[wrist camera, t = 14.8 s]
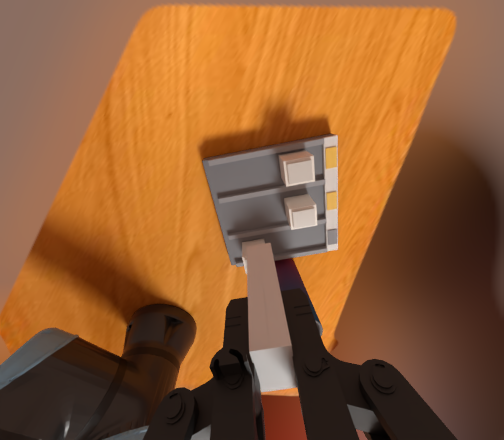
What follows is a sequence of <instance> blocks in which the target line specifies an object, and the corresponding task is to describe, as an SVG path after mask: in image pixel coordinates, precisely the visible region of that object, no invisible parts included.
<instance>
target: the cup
mask: <svg viewBox="0 0 504 440" xmlns="http://www.w3.org/2000/svg"><path fill="white" fill-rule="evenodd" d="M274 262H275V267H276V272H277V277H278V282H279V287H280V291H285V290H291V289H297V288H300V289H301V290H302V291H303V292H304V293H305V294H306V295H307V298H308V301H309V304H310V307H311V310H312V313H313V316H314V319H315V321H316V324H317V327H318V330H319V333H320V336H321V335H322V332H323V328H322V326H321V323H320V321H319V319H318V316H317V314H316V312H315V309H314V307H313V305H312V302H311V300H310V298H309V295H308V293H307V291H306V288H305V286H304V284H303V281H302V279H301V277H300V274H299V272H298V270H297V267H296V265H295V263H294V261H293V260H292V259H291V258H288V259H282V260H276V261H274Z"/></svg>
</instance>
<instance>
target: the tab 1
mask: <svg viewBox="0 0 504 440" xmlns="http://www.w3.org/2000/svg"><path fill="white" fill-rule="evenodd" d="M260 244H265V241H264V239H258V240H252V241H247V242H242V260H243V264H244V268H245V272H246V274H247V247H248V246H254V245H260Z"/></svg>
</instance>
